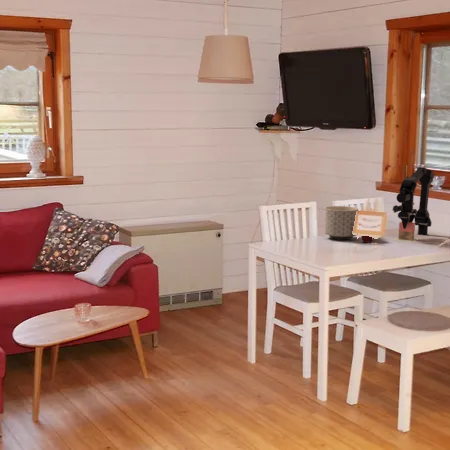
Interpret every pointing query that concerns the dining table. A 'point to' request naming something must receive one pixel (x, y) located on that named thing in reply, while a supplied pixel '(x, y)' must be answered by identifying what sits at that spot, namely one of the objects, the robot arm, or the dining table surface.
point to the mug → (367, 239)
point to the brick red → (409, 227)
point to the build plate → (406, 240)
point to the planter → (340, 222)
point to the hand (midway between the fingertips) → (406, 227)
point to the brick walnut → (406, 235)
